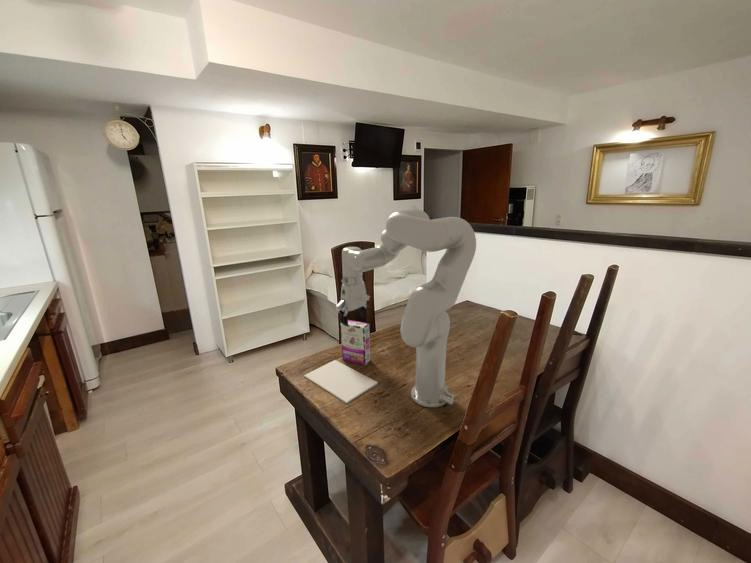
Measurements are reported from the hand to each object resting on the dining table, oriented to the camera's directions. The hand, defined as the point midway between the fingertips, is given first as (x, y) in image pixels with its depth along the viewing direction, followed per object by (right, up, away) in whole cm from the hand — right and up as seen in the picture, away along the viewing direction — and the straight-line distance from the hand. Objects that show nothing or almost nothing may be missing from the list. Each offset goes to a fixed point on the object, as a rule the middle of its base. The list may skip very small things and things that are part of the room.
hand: (353, 320), depth 129 cm
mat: (-4, -21, -9) cm, 23 cm away
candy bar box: (+1, -17, +5) cm, 18 cm away
